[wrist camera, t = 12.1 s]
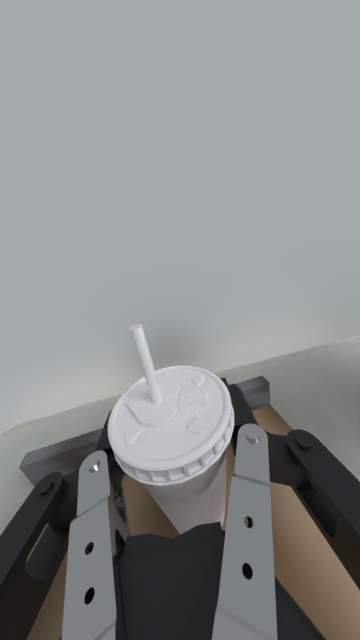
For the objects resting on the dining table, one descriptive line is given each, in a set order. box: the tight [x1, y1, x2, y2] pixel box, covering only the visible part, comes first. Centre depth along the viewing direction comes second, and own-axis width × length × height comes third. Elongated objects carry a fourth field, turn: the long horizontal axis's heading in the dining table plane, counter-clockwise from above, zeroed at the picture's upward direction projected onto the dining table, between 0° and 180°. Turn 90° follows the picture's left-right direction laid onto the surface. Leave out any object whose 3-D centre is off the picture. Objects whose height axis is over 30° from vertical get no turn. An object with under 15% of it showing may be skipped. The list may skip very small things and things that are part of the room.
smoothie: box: [108, 324, 234, 535], centre depth 10 cm, size 6×6×14 cm
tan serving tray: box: [19, 376, 360, 640], centre depth 12 cm, size 24×16×4 cm
